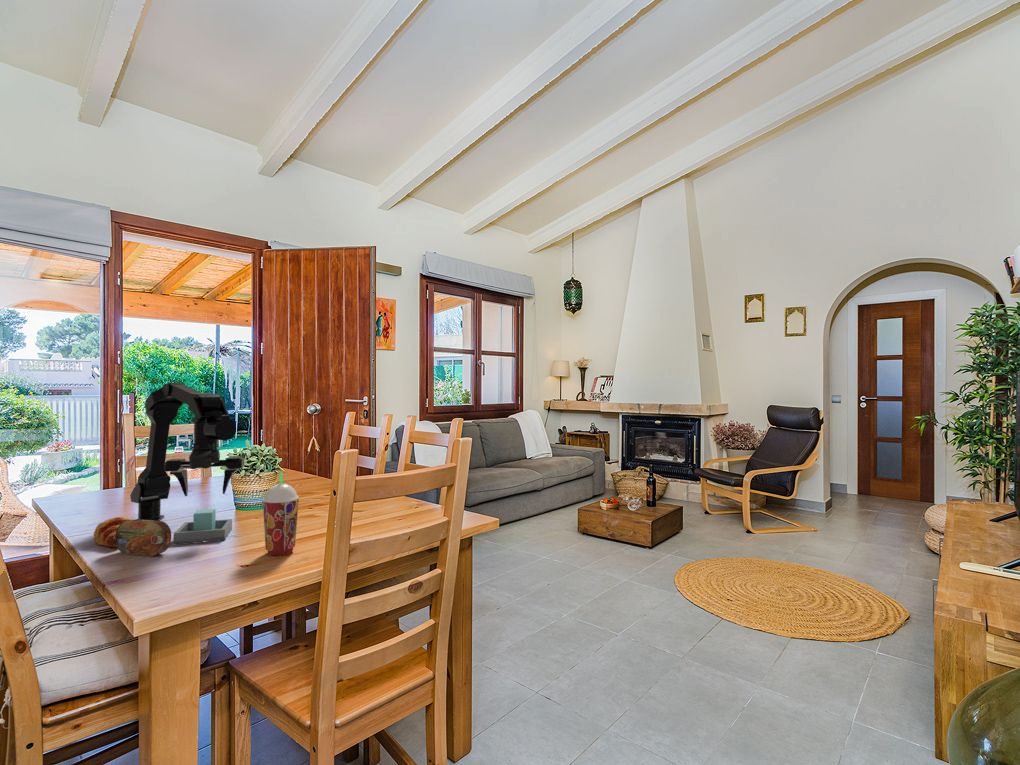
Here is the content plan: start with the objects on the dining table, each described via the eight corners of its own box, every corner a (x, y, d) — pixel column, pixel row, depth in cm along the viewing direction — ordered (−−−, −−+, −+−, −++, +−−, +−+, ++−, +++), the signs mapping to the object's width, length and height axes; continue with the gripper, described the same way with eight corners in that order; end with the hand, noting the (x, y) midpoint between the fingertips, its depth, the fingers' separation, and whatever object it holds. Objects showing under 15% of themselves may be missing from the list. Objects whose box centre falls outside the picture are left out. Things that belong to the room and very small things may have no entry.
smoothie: (304, 552, 131) (305, 472, 131) (270, 560, 125) (272, 476, 125) (289, 545, 136) (289, 469, 137) (256, 552, 130) (257, 473, 131)
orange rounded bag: (113, 553, 129) (114, 519, 129) (125, 549, 132) (126, 516, 133) (162, 558, 126) (162, 523, 126) (173, 554, 129) (174, 520, 129)
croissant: (103, 546, 147) (86, 523, 145) (142, 524, 152) (126, 502, 150) (104, 564, 130) (85, 538, 128) (147, 539, 136) (130, 514, 134)
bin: (184, 532, 148) (185, 522, 148) (232, 529, 152) (232, 519, 152) (173, 544, 136) (173, 533, 136) (224, 540, 140) (224, 529, 141)
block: (197, 531, 146) (197, 510, 146) (215, 530, 147) (215, 509, 147) (193, 535, 141) (193, 513, 141) (211, 534, 143) (212, 512, 143)
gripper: (158, 442, 134) (157, 503, 134) (238, 440, 140) (238, 498, 140) (170, 438, 144) (169, 495, 144) (244, 436, 151) (244, 490, 150)
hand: (205, 494), depth 144 cm, fingers open, 9 cm apart
